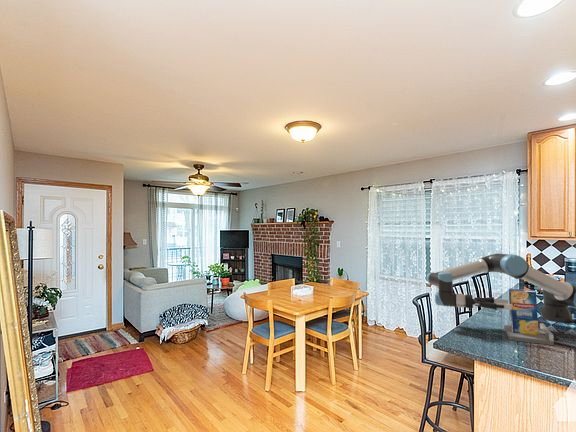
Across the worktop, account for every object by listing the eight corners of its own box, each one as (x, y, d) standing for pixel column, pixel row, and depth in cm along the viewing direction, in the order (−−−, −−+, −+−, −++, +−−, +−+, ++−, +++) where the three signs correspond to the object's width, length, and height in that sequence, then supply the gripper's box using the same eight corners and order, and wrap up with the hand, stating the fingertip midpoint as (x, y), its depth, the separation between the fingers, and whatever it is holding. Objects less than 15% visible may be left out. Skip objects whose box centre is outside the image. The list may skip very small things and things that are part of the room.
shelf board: (504, 328, 181) (504, 324, 181) (543, 332, 173) (543, 329, 173) (508, 339, 162) (508, 335, 162) (553, 345, 153) (553, 341, 154)
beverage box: (538, 335, 162) (536, 291, 164) (512, 332, 167) (510, 290, 169) (535, 331, 168) (533, 289, 170) (510, 329, 173) (508, 288, 175)
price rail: (540, 328, 173) (539, 323, 174) (543, 329, 173) (543, 323, 173) (549, 340, 154) (549, 334, 154) (553, 341, 154) (553, 334, 154)
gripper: (465, 303, 192) (507, 306, 182) (465, 312, 170) (513, 316, 160) (464, 290, 192) (506, 293, 182) (464, 298, 171) (512, 301, 160)
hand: (509, 304), depth 171 cm, fingers open, 13 cm apart
